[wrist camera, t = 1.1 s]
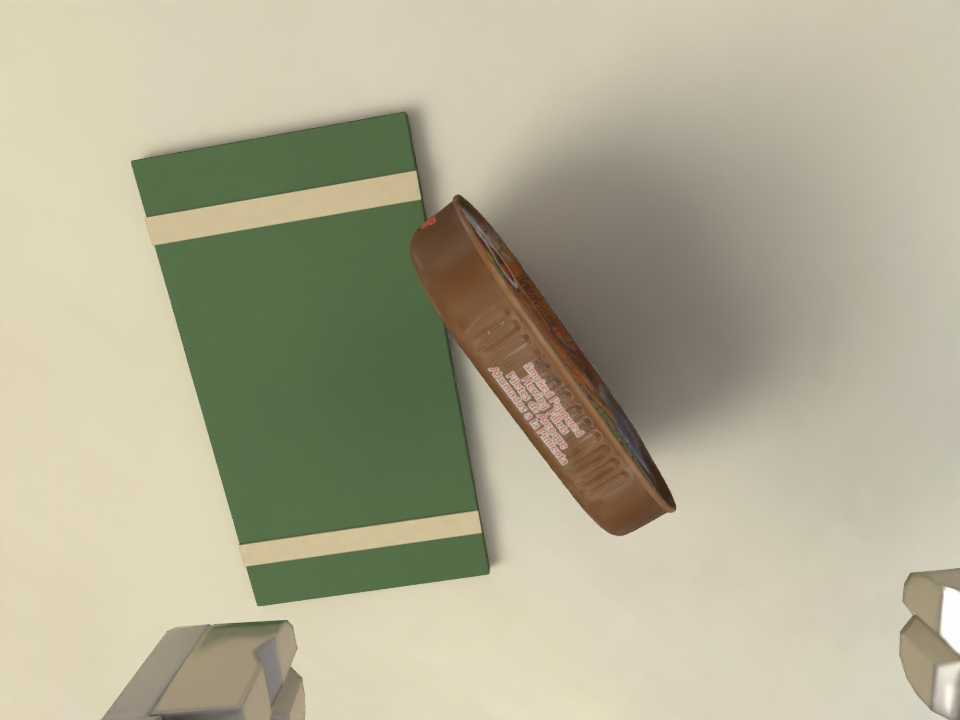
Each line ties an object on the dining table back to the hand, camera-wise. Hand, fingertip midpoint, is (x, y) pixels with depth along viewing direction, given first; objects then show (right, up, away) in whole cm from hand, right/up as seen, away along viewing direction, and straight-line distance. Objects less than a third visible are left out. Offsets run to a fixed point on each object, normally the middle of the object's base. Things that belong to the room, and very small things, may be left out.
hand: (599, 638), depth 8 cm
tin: (+1, +4, +21) cm, 21 cm away
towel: (-9, +3, +21) cm, 23 cm away
